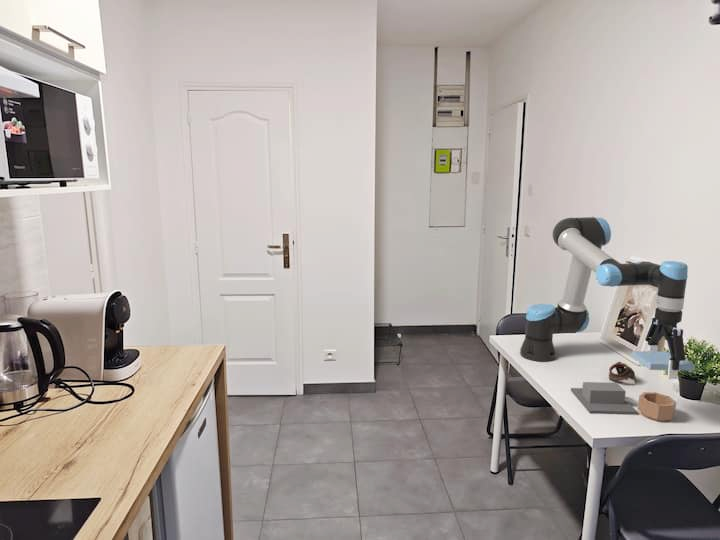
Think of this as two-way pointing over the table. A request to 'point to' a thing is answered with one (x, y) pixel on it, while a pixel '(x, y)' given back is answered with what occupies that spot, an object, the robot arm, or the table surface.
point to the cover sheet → (660, 360)
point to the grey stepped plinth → (603, 398)
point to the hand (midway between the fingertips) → (661, 370)
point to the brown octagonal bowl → (656, 406)
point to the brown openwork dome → (622, 372)
